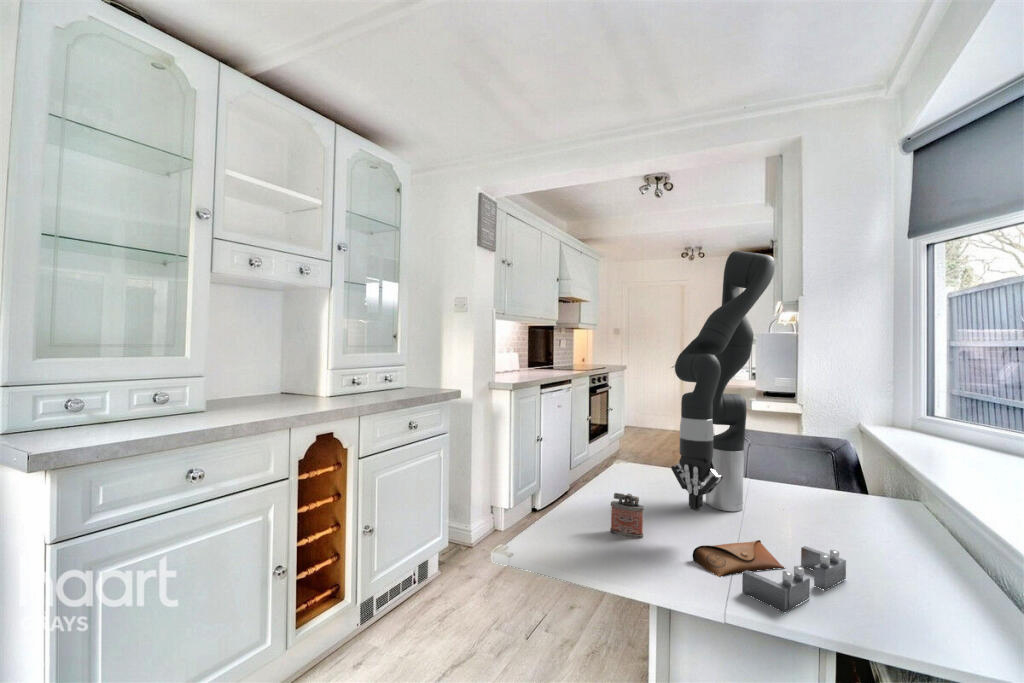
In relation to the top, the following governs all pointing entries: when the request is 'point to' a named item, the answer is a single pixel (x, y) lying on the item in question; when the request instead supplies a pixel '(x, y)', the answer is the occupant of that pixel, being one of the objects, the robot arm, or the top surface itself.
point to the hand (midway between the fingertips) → (695, 509)
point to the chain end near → (778, 589)
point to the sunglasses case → (735, 558)
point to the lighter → (627, 516)
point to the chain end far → (824, 566)
